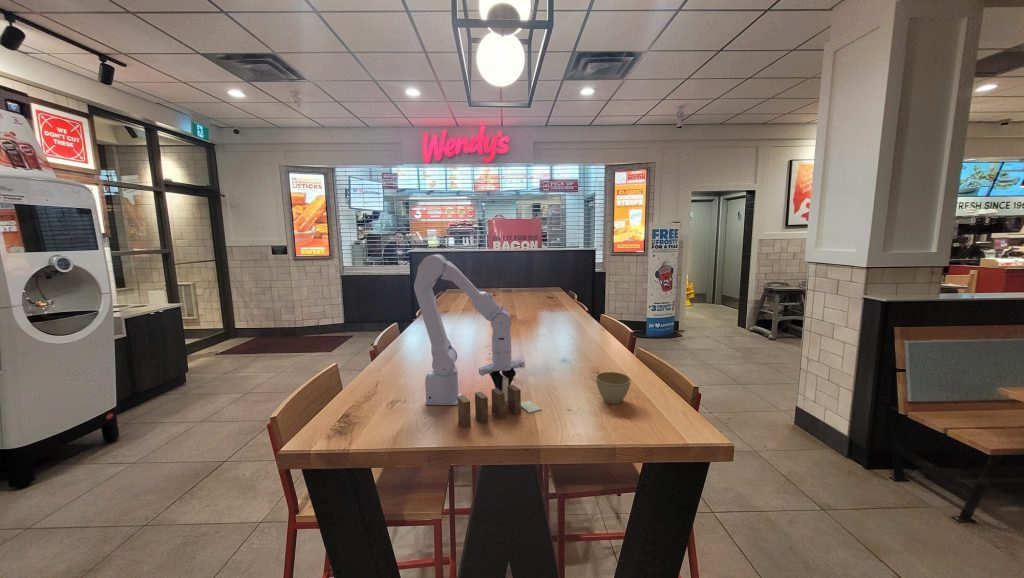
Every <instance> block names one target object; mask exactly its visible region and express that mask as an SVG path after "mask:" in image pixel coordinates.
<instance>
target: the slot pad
mask: <svg viewBox="0 0 1024 578" xmlns="http://www.w3.org/2000/svg"><path fill="white" fill-rule="evenodd" d="M521 409H523V410H524V411H526V412H527V413H529V414H532V413H535V412H539V411H541V410H542V408H541V407H540V406H538V405H536V404H535V403H533V402H532V401H530V400H527V401H524V402H521Z"/></svg>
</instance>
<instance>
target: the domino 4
mask: <svg viewBox="0 0 1024 578" xmlns="http://www.w3.org/2000/svg"><path fill="white" fill-rule="evenodd" d="M501 375H502V376H503V379H502V392H503V393H504V394H505V402H508V391H507V386H508V378H507V377H506V376H504V375H503V374H502V373H501Z"/></svg>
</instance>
